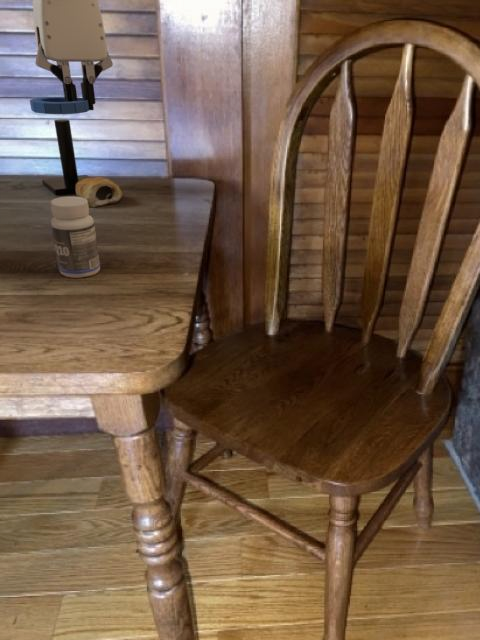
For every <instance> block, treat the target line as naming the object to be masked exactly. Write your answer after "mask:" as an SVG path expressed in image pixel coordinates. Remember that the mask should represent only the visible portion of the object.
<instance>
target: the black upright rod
mask: <svg viewBox="0 0 480 640" xmlns="http://www.w3.org/2000/svg"><path fill="white" fill-rule="evenodd" d="M54 127H55V133H56V141H57V145H58V151H59V159H60V164H61V165H60V166H61V170H62V177H52V178H42V179H41V181H42V182H41V183H42V185H43V186H44V187H45V188H46V189H47V190H48V191H50V192H51V193H53V195H54V196H63V195H65V196H66V195H72V194H76V183H77V182H79V181H81V180H83V179H86V178H92V177H91V176H89V175H88V174H82V175H78V174H79V173H78V168H77V161H76V155H75V148H74V141H73V134H72V128H71V122H70V119H67V118H65V119H63V118H59V119H54Z"/></svg>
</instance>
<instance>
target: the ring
mask: <svg viewBox="0 0 480 640" xmlns="http://www.w3.org/2000/svg"><path fill="white" fill-rule="evenodd" d="M29 104H30V111H32V112H33V113H36V114H43V115H76V114H84V113H87V112H89V111H90V110H89V104H88V100H87V99H84V98H82V97H77V101H72V102H65V97H64V96H44V97H34V98H31V99H29Z"/></svg>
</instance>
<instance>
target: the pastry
mask: <svg viewBox="0 0 480 640" xmlns="http://www.w3.org/2000/svg"><path fill="white" fill-rule="evenodd" d="M75 194H76V197H82V198H85V199H87V201H88V206H89V207H90V208H91V207H92V208H96V207H103V206H106V205H108V204H115V203H118V202H120V200H121V199H122V197H123V191H122V190H121V188H120V186H119V185H118V184H116V183H115V182H114V181H112V180H111V179H110V178H106V177H101V176H99V177H98V176H94V177H91V178H86V179H83V180H81V181H79V182H77V183H76V193H75Z"/></svg>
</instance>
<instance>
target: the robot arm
mask: <svg viewBox="0 0 480 640" xmlns="http://www.w3.org/2000/svg"><path fill="white" fill-rule="evenodd" d="M32 10H33V11H32V12H33V23H34V24H33V26H34V33H35V42H36V43H35V44H36V48H37V53H36V57H35V65H36V66H37V67H38V68H41V69H43V70H46V71H48V72H49V73H51V74H53V76H55V77H56V78H57V79H58V80H59V82H60V83H62V90H63V95H64V96H63V97H65V102H72V101H77V98H78V93H77V86H76V84H75V83H73V81H74V80H73V79H72V76H71V75H72V74H71V66H70V63H71V62H72V63H80V66H81V73H82V81H81V82H80V91H81V98H84V99H87V100H88V104H89V111H94V109H95V108H94V105H96V94H95V88H94V84H95V83H96V80H97V79H98V78H99V75H100V74H101V73H102V72H103V71H106V70H108V69H110V68H112V67H113V65H114V63H113V60H112V58H111V56H110V54H109V52H108V45H107V39H106V38H107V37H106V32H105V26H104V21H103V16H102V12H101V7H100V4H99V0H32ZM49 61H52V62H56V64H54V63H52V62H49ZM95 62H97V63H95Z"/></svg>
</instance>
